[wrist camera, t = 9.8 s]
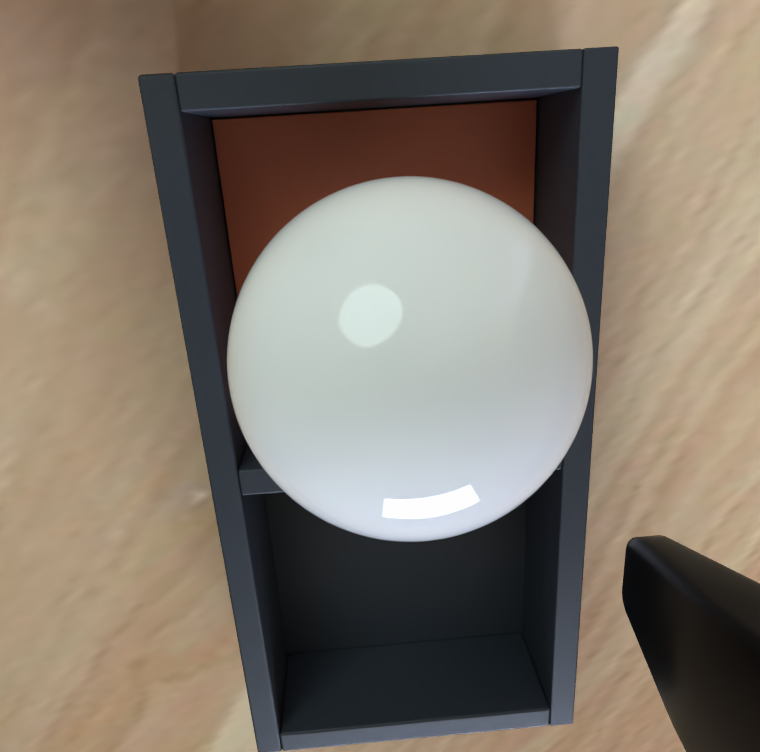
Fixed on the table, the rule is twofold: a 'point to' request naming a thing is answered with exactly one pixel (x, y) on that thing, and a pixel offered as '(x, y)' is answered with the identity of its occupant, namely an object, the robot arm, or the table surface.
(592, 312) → the tray
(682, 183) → the table surface
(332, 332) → the lightbulb
